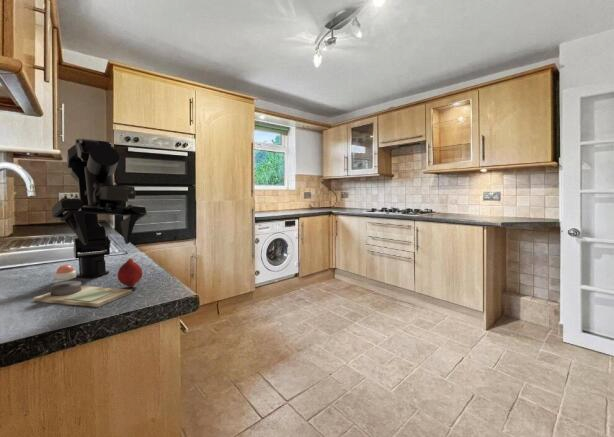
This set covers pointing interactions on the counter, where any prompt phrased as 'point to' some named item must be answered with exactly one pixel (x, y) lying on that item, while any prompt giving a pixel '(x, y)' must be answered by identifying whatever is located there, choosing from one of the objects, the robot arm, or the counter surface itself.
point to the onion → (129, 273)
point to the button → (65, 273)
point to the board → (81, 294)
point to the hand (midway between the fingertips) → (107, 243)
